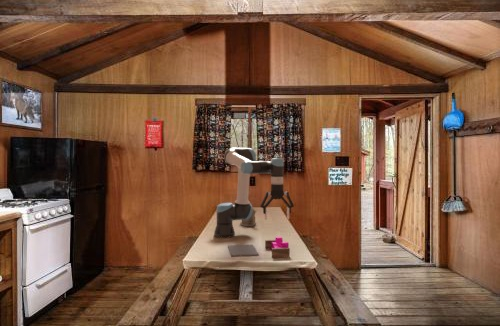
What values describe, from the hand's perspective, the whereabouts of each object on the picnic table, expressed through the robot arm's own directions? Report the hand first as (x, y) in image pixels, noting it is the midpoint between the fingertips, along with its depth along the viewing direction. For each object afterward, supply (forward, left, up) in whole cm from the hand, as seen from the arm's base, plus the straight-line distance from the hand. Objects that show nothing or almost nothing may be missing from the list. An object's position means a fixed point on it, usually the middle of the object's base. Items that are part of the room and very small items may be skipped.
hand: (277, 219), depth 197 cm
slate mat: (-6, -20, -20) cm, 29 cm away
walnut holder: (0, 0, -20) cm, 20 cm away
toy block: (-1, +2, -21) cm, 21 cm away
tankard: (-81, -4, -20) cm, 84 cm away
